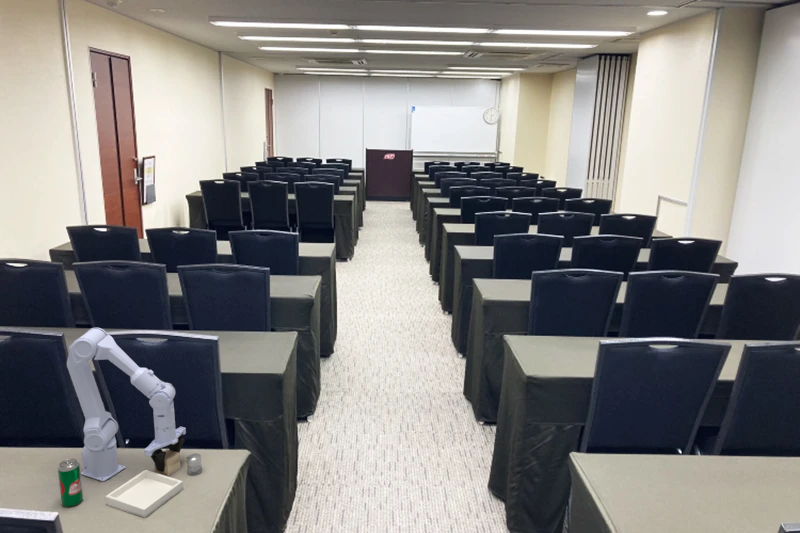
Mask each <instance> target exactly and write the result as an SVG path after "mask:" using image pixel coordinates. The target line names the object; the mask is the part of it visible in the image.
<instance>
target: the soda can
mask: <svg viewBox="0 0 800 533" xmlns="http://www.w3.org/2000/svg"><path fill="white" fill-rule="evenodd" d="M57 475H58V476H57V477H58V483H59V484H58V485H59V492H60V500H61V506H63V507H65V508H71V507H76V506H78V505H79V504H81V502H82V501H83V499H84V497H83V486H82V476H81V475H82V474H81V467H80V462H78V459H76V458H67V459H64V460H63V461H61V462H60V463H59V464H58V468H57Z"/></svg>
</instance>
